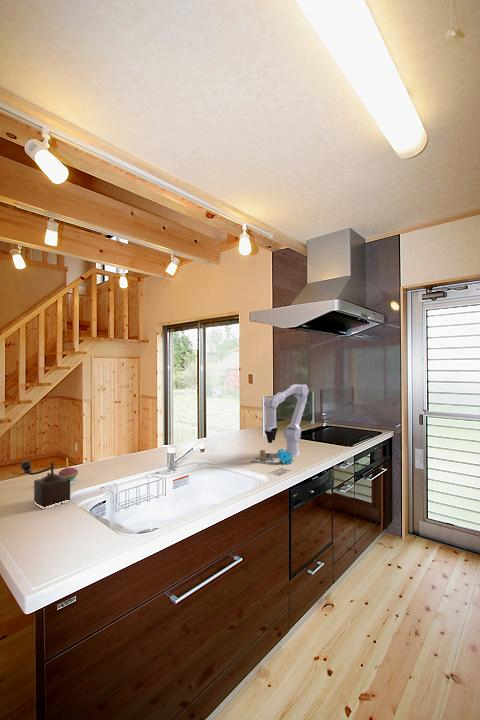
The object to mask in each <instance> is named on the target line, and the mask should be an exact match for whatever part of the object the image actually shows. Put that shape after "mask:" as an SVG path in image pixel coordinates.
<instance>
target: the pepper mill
mask: <svg viewBox="0 0 480 720" xmlns="http://www.w3.org/2000/svg"><path fill="white" fill-rule="evenodd" d="M31 467H32V462H31V461H30V460H25V461H22V462H21V463H20V469H21V470H23V474H27V475H31V476H34V475H39V474H42V473H45V472H46V471H49V470H50V472H47V475H46V476H43V477H41V478H39V479H35V480H33V481H34V482H33V487H34V488H33V502H34V501H35V502H36V503H37V504H39V505H41V506H43V507H46V506H49V505H52V504H55V503H59V502H62V501H65V500H70V501H71V484H70V479H69V478H66V477H64V476H62V475H60V474H59V473H58V474H59V475H58V474H56V473H55V472H54V468H55V462H54V461H51V462H50V466H49V467H47V468H44V469H42V470H39V471H36V472H32V471H33V470H32V469H31Z"/></svg>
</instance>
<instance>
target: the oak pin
mask: <svg viewBox="0 0 480 720" xmlns="http://www.w3.org/2000/svg"><path fill="white" fill-rule="evenodd" d="M265 453H266V449H260V451H259V454H260V455H259V457H260V461H263V462H265V461H266V455H265Z"/></svg>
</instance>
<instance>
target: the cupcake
mask: <svg viewBox="0 0 480 720" xmlns="http://www.w3.org/2000/svg"><path fill="white" fill-rule="evenodd" d="M65 465H66V467H64V468H62V469H61V470H60V471H59V472H58V474H57V475H59V474H60V475H62V476H64V477H66V478H69V479H70V482H71V481H74V482H75V479H76V477H77V476H78V474H79V471H78V469H77V468H74V467H69V460H68V458H66V463H65Z"/></svg>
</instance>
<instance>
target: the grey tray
mask: <svg viewBox="0 0 480 720" xmlns="http://www.w3.org/2000/svg"><path fill="white" fill-rule="evenodd" d="M275 461H276V458H274V457H273V458H266V461H265V462H263V461H260V456H254V458H253V459H251V461H250V462H251V463H255V464H267V465H268V464H269V465H272V464H273V463H274V462H275Z"/></svg>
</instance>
